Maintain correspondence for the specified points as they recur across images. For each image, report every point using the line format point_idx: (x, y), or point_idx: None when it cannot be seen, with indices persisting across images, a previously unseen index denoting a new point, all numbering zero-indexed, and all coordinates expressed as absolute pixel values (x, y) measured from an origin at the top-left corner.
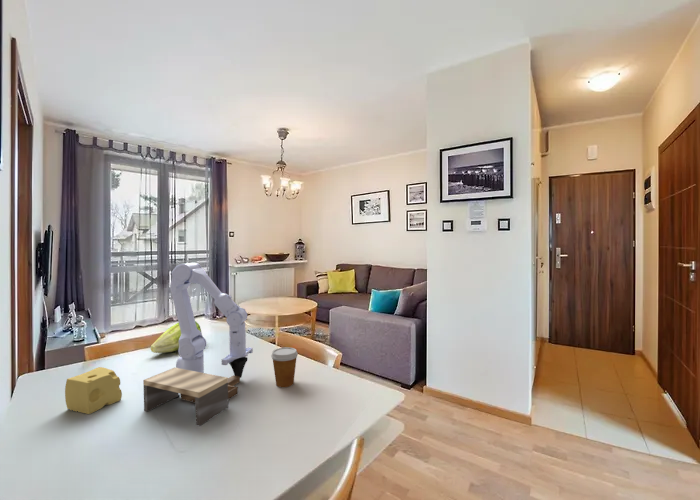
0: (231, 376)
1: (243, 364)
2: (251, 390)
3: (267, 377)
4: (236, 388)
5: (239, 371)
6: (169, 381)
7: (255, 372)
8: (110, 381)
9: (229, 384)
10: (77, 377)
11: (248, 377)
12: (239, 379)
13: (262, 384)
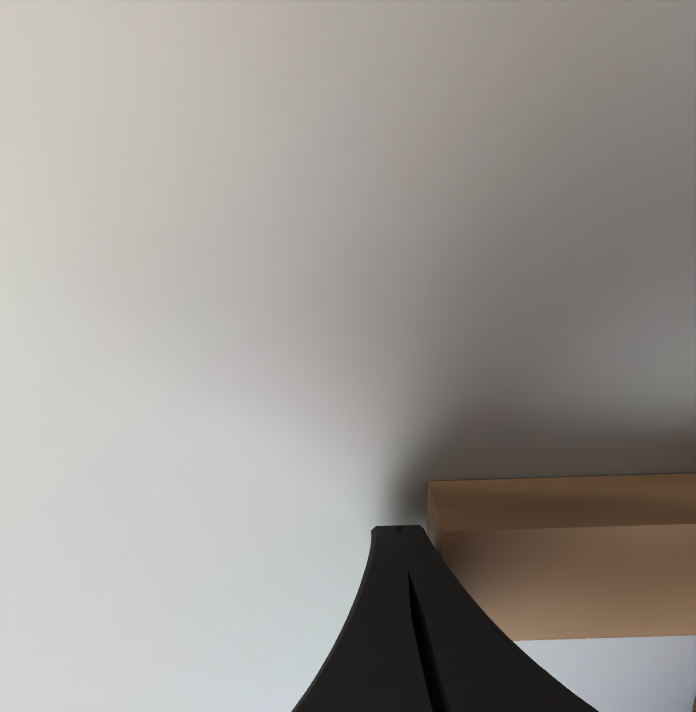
0: None
1: (396, 693)
2: (642, 92)
3: (92, 194)
4: None
5: (474, 600)
6: None
7: (54, 506)
8: None
9: (671, 502)
10: None
11: (248, 477)
12: (445, 503)
13: (370, 70)
